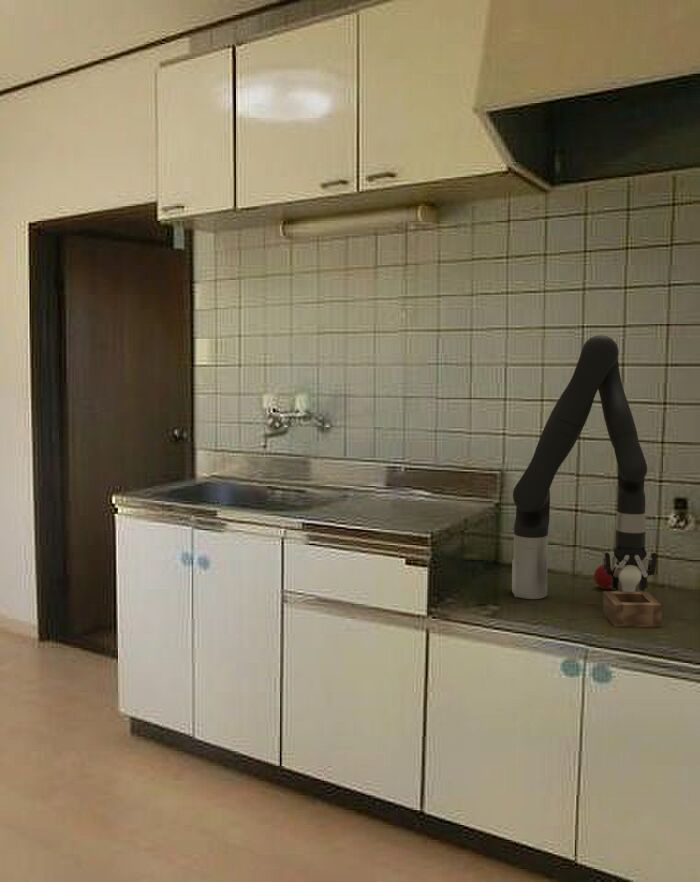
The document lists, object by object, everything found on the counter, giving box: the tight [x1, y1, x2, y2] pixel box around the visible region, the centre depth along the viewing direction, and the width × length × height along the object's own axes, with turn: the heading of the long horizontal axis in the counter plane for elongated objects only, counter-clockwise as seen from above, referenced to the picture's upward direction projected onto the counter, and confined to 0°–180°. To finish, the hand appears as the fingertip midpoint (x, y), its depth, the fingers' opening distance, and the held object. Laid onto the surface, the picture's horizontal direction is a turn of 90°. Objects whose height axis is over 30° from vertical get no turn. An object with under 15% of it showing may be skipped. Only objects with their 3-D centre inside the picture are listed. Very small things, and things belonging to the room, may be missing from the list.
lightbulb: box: [617, 565, 642, 592], centre depth 211 cm, size 6×6×11 cm
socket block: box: [602, 590, 663, 628], centre depth 198 cm, size 11×11×6 cm
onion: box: [593, 562, 613, 590], centre depth 224 cm, size 6×6×8 cm
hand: (628, 589), depth 211 cm, fingers closed on lightbulb, 6 cm apart
